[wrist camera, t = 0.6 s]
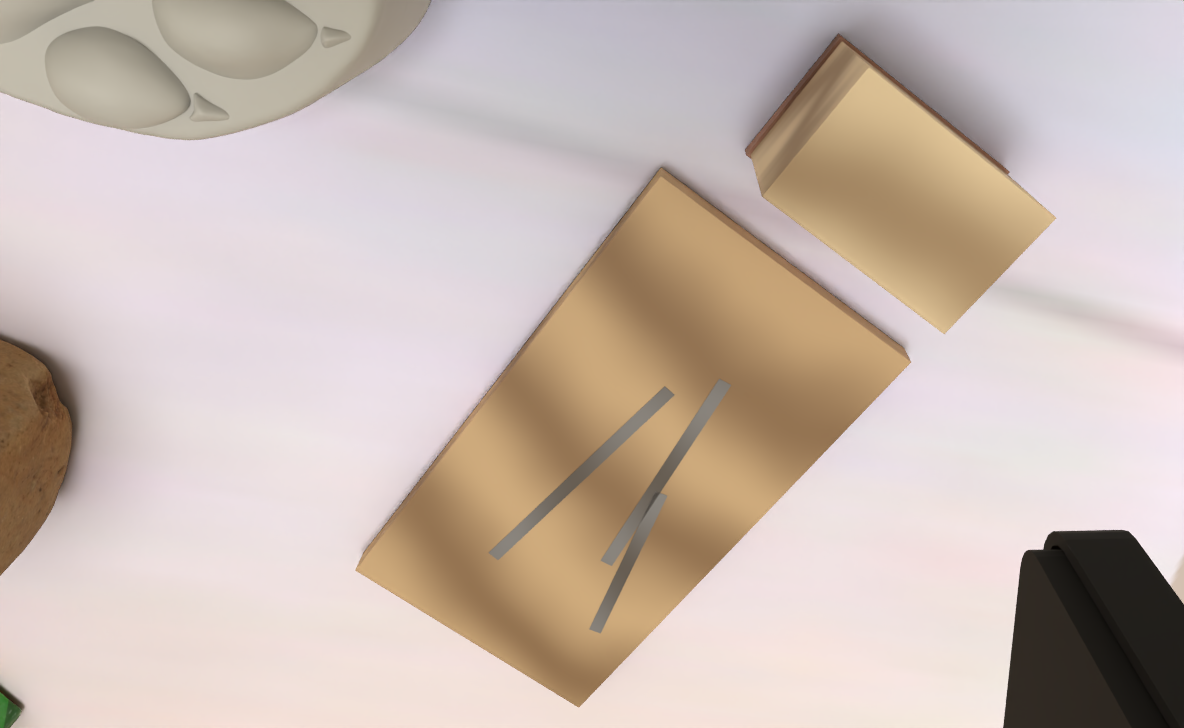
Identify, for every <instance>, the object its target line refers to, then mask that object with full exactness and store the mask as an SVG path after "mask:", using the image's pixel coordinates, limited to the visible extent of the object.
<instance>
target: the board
mask: <svg viewBox="0 0 1184 728" xmlns="http://www.w3.org/2000/svg"><path fill="white" fill-rule="evenodd" d="M910 363H911V361H910V359H909V357H908V355H907V353H906V351H905V349H904V348H903V347H902V346H900V345H899V344H898V343H896V342H895V341H894V340H892V339H891V338H889V337H888V336H887V335H885V334H884V333H883V332H881V331H880V330H879V329H877V328H876V327H875V326H873V325H872V324H871V323H869V322H868V321H867V320H865V319H864V318H863V317H861V316H860V315H859V314H857V313H856V312H855V311H853V310H852V309H851V308H849V307H848V306H847V305H845V304H844V303H843V302H841V301H840V300H838V299H837V298H836V297H834V296H833V295H832V294H830V293H829V292H828V291H826V290H825V289H824V288H822V287H821V286H820V285H818V284H817V283H816V282H814V281H813V280H812V279H810V278H809V277H808V276H806V275H805V274H804V273H802V272H801V271H800V270H798V269H797V268H796V267H794V266H793V265H792V264H790V263H789V262H787V261H786V260H785V259H783V258H782V257H781V256H779V255H778V254H777V253H775V252H774V251H773V250H771V249H770V248H769V247H767V246H766V245H765V244H763V243H762V242H761V241H759V240H758V239H757V238H755V237H754V236H753V235H751V234H750V233H749V232H747V231H746V230H745V229H743V228H742V227H741V226H739V225H738V224H736V223H735V222H734V221H732V220H731V219H730V218H728V217H727V216H726V215H724V214H723V213H722V212H720V211H719V210H718V209H716V208H715V207H714V206H712V205H711V204H710V203H708V202H707V201H706V200H704V199H703V198H702V197H700V196H699V195H698V194H696V193H695V192H694V191H692V190H691V189H690V188H688V187H687V186H685V185H684V184H683V183H681V182H680V181H679V180H677V179H676V178H675V177H673V176H672V175H671V174H669V173H668V172H667V171H665V170H664V169H663V168H660V169H659V171H658V172H657V173H656V175H655V176H654V177H653V179H652V180H651V181H650V182H649V184H648V185H647V186H646V188H645V189H644V190H643V191H642V193H641V194H640V195H639V197H638V198H637V199H636V201H635V202H634V203H633V204H632V206H631V207H630V208H629V210H628V211H627V212H626V214H625V215H624V216H623V217H622V219H621V220H620V221H619V223H618V224H617V225H616V226H615V228H614V229H613V230H612V232H611V233H610V234H609V236H608V237H607V238H606V239H605V241H604V242H603V243H602V245H601V246H600V247H599V248H598V250H597V251H596V252H595V254H594V255H593V256H592V258H591V259H590V260H589V261H588V263H587V264H586V265H585V267H584V268H583V269H582V270H581V272H580V273H579V274H578V276H577V277H576V278H575V280H574V281H573V282H572V283H571V285H570V286H569V287H568V289H567V290H566V291H565V293H564V294H563V295H562V296H561V298H560V299H559V300H558V302H557V303H556V304H555V305H554V307H553V308H552V309H551V311H550V312H549V313H548V315H547V316H546V317H545V318H544V320H543V321H542V322H541V324H540V325H539V326H538V327H537V329H536V330H535V331H534V333H533V334H532V335H531V337H530V338H529V339H528V340H527V342H526V343H525V344H524V346H523V347H522V348H521V350H520V351H519V352H518V353H517V355H516V356H515V357H514V359H513V360H512V361H511V362H510V364H509V365H508V366H507V368H506V369H505V370H504V372H503V373H502V374H501V375H500V377H499V378H498V379H497V381H496V382H495V383H494V384H493V386H492V387H491V388H490V390H489V391H488V392H487V394H486V395H485V396H484V397H483V399H482V400H481V401H480V403H479V404H478V405H477V407H476V408H475V409H474V410H473V412H472V413H471V414H470V416H469V417H468V418H467V419H466V421H465V422H464V423H463V425H462V426H461V427H460V429H459V430H458V431H457V432H456V434H455V435H454V436H453V438H452V439H451V440H450V441H449V443H448V444H447V445H446V447H445V448H444V449H443V451H442V452H441V453H440V454H439V456H438V457H437V458H436V460H435V461H434V462H433V463H432V465H431V466H430V467H429V469H428V470H427V471H426V473H425V474H424V475H423V476H422V478H421V479H420V480H419V482H418V483H417V484H416V486H415V487H414V488H413V489H412V491H411V492H410V493H409V495H408V496H407V497H406V498H405V500H404V501H403V502H402V504H401V505H400V506H399V508H398V509H397V510H396V511H395V513H394V514H393V515H392V517H391V518H390V519H389V520H388V522H387V523H386V524H385V526H384V527H383V528H382V530H381V531H380V532H379V533H378V535H377V536H376V537H375V539H374V540H373V541H372V543H371V544H370V545H369V546H368V548H367V549H366V550H365V552H364V553H363V555H362V557H361V559H360V561H359V564H358V566H357V568H356V571H357V572H359V573H361V574H362V575H364V576H365V577H367V578H369V579H370V580H372V581H374V582H375V583H377V584H378V585H380V586H382V587H383V588H385V589H387V590H388V591H390V592H391V593H393V594H395V595H396V596H398V597H400V598H401V599H403V600H405V601H406V602H408V603H409V604H411V605H413V606H414V607H416V608H418V609H419V610H421V611H422V612H424V613H426V614H427V615H429V616H431V617H432V618H434V619H435V620H437V621H439V622H440V623H442V624H444V625H445V626H447V627H448V628H450V629H452V630H453V631H455V632H457V633H458V634H460V635H461V636H463V637H465V638H466V639H468V640H470V641H471V642H473V643H475V644H476V645H478V646H479V647H481V648H483V649H484V650H486V651H488V652H489V653H491V654H492V655H494V656H496V657H497V658H499V659H501V660H502V661H504V662H505V663H507V664H509V665H510V666H512V667H514V668H515V669H517V670H518V671H520V672H522V673H523V674H525V675H527V676H528V677H530V678H531V679H533V680H535V681H536V682H538V683H540V684H541V685H543V686H545V687H546V688H548V689H549V690H551V691H553V692H554V693H556V694H558V695H559V696H561V697H562V698H564V699H566V700H567V701H569V702H571V703H572V704H574V705H575V706H577V707H580V706H581V705H582V704H583V703H584V702H585V701H586V700H587V698H588V697H589V696H590V695H591V694H592V693H593V692H594V691H595V690H596V689H597V688H598V687H599V686H600V685H601V684H602V683H603V682H604V681H605V680H606V679H607V678H608V677H609V676H610V675H611V674H612V673H613V671H614V670H615V669H616V668H617V667H618V666H619V665H620V664H621V663H622V662H623V661H624V660H625V659H626V658H627V657H628V656H629V655H630V654H631V653H632V652H633V651H634V650H635V649H636V648H637V647H638V645H639V644H640V643H641V642H642V641H643V640H644V639H645V638H646V637H647V636H648V635H649V634H650V633H651V632H652V631H653V630H654V629H655V628H656V627H657V626H658V625H659V624H660V623H661V622H662V621H663V620H664V618H665V617H666V616H667V615H668V614H669V613H670V612H671V611H672V610H673V609H674V608H675V607H676V606H677V605H678V604H679V603H680V602H681V601H682V600H683V599H684V598H685V597H686V596H687V595H688V594H689V593H690V591H691V590H692V589H693V588H694V587H695V586H696V585H697V584H698V583H699V582H700V581H701V580H702V579H703V578H704V577H705V576H706V575H707V574H708V573H709V572H710V571H711V570H712V569H713V568H714V567H715V565H716V564H717V563H718V562H719V561H720V560H721V559H722V558H723V557H724V556H725V555H726V554H727V553H728V552H729V551H730V550H731V549H732V548H733V547H734V546H735V545H736V544H737V543H738V542H739V541H740V540H741V538H742V537H743V536H744V535H745V534H746V533H747V532H748V531H749V530H750V529H751V528H752V527H753V526H754V525H755V524H756V523H757V522H758V521H759V520H760V519H761V518H762V517H763V516H764V515H765V514H766V512H767V511H768V510H769V509H770V508H771V507H772V506H773V505H774V504H775V503H776V502H777V501H778V500H779V499H780V498H781V497H782V496H783V495H784V494H785V493H786V492H787V491H788V490H789V489H790V488H791V487H792V485H793V484H794V483H795V482H796V481H797V480H798V479H799V478H800V477H801V476H802V475H803V474H804V473H805V472H806V471H807V470H808V469H809V468H810V467H811V466H812V465H813V464H814V463H815V462H816V461H817V460H818V458H819V457H820V456H821V455H822V454H823V453H824V452H825V451H826V450H827V449H828V448H829V447H830V446H831V445H832V444H833V443H834V442H835V441H836V440H837V439H838V438H839V437H840V436H841V435H842V434H843V432H844V431H845V430H846V429H847V428H848V427H849V426H850V425H851V424H852V423H853V422H854V421H855V420H856V419H857V418H858V417H859V416H860V415H861V414H862V413H863V412H864V411H865V410H866V409H867V408H868V407H869V405H870V404H871V403H872V402H873V401H874V400H875V399H876V398H877V397H878V396H879V395H880V394H881V393H882V392H883V391H884V390H885V389H886V388H887V387H888V386H889V385H890V384H891V383H892V382H893V381H894V379H895V378H896V377H897V376H898V375H899V374H900V373H901V372H902V371H903V370H904V369H905V368H906V367H907V366H908V365H909V364H910Z"/></svg>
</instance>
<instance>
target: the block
mask: <svg viewBox="0 0 1184 728" xmlns="http://www.w3.org/2000/svg"><path fill="white" fill-rule="evenodd" d="M71 438H72V422H71V419H70V415H69V412H68V409H67V408H66V407H65V406H64V405H63V404H62V403H61V402H60V400H59V398H58V395H57V392H56V388H55V386H54V384H53V381H52V376H51V373H50V372H49V370H48V369H47V368H46V366H45V365H44V364H43V363H42V362H40V361H39V360H38V359H36V358H35V357H34V356H32V355H31V354H29V353H27V352H25V351H24V350H22V349H20V348H18V347H16V346H14V345H12V344H10V343H8V342H5V341H3V340H0V575H1V574H2V573H3V572H4V571H5V570H6V569H7V568H8V567H9V566H10V564H11V563H12V562H13V561H14V560H15V559H16V558H17V557H18V556H19V555H20V554H21V553H22V552H23V550H24V549H25V548H26V547H27V545H28V544H29V543H30V541H31V540H32V539H33V537H34V536H35V535H36V533H37V532H38V530H39V529H40V528H41V526H42V525H43V523H44V522H45V520H46V518H47V517H48V515H49V513H50V512H51V510H52V508H53V506H54V503H55V500H56V497H57V494H58V490H59V488H60V486H61V484H62V482H63V479H64V476H65V472H66V468H67V464H68V459H69V454H70V449H71Z"/></svg>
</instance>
